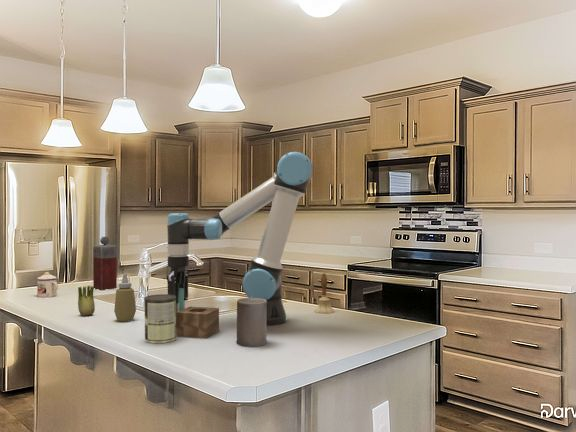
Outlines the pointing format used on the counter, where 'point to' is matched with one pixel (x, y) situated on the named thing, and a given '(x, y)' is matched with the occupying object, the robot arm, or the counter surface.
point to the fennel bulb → (86, 301)
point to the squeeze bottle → (125, 301)
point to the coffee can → (160, 318)
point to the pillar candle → (251, 321)
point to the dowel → (181, 299)
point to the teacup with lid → (47, 285)
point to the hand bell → (324, 299)
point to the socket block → (197, 322)
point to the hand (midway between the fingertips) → (178, 319)
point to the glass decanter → (104, 265)
